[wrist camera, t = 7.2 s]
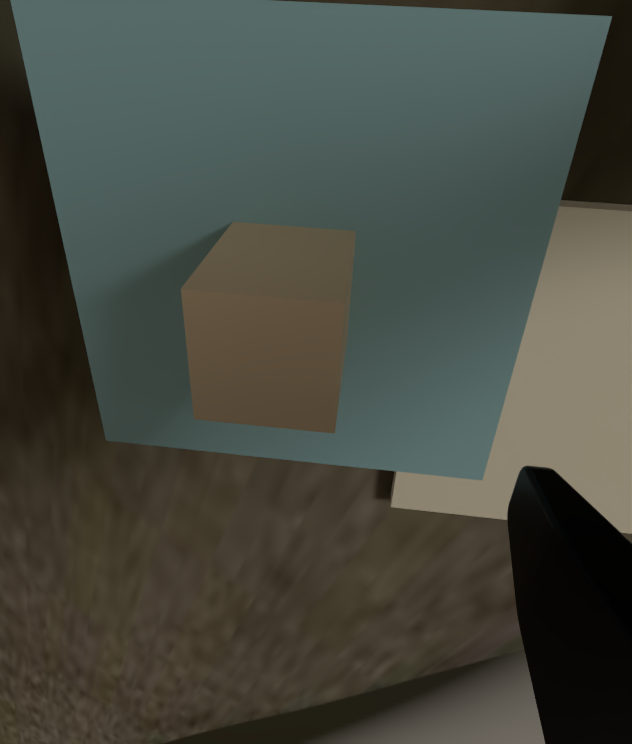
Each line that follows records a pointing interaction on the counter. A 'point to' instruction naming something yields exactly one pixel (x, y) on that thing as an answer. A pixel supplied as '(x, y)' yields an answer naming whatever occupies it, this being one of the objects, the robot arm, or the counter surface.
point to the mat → (562, 380)
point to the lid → (306, 215)
